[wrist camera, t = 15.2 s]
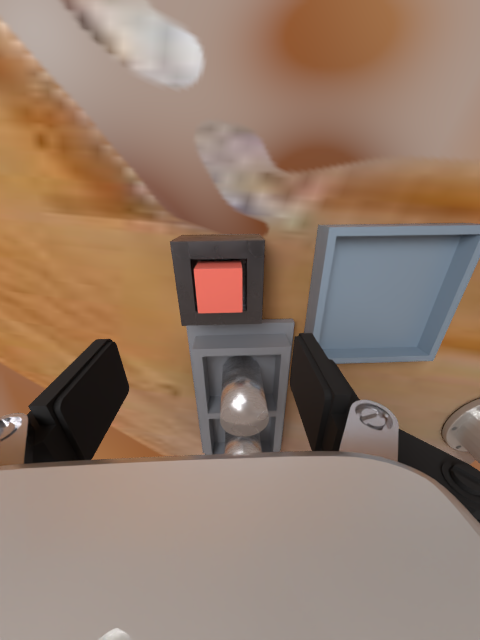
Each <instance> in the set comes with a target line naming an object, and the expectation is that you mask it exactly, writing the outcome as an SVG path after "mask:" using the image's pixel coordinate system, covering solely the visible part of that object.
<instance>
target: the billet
mask: <svg viewBox="0 0 480 640" xmlns="http://www.w3.org/2000/svg"><path fill="white" fill-rule="evenodd" d="M268 422H269V415H268V410H267V404H266V399H265V394H264V388H263V383H262V378H261V372H260V367H259V364H258V362H257V361H256V360H255V359H254V358H252V357H251V356H248V355H242V356H233V357H231V358H229V359H228V360H227V361H226V362H225V363H224V365H223V369H222V389H221V410H220V424H221V426H222V428H223V429H224V430H225V431H226V432H228V433H229V434H232V435H235V436H241V437H245V436H252V435H255V434H257V433H259V432H261V431H262V430H263V429H264V428H265V427H266V426H267V424H268Z"/></svg>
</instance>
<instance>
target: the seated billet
mask: <svg viewBox="0 0 480 640" xmlns="http://www.w3.org/2000/svg"><path fill="white" fill-rule="evenodd" d="M237 453H262V450H261V441H260V433H257V434H255V435H252V436H245V437H241V436H235V435H232V434H229V433H228V432H226V431H225V453H224V454H237Z"/></svg>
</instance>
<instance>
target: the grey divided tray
mask: <svg viewBox="0 0 480 640" xmlns="http://www.w3.org/2000/svg"><path fill="white" fill-rule="evenodd" d="M293 331H294V321H293V319H263V320H262V324H234V325H193V326H187V334H188V342H189V349H190V357H191V365H192V372H193V380H194V388H195V396H196V403H197V411H198V419H199V426H200V434H201V442H202V449H203V453H205V455H211V454H224V453H225V430H224V429H223V428H222V426H221V424H220V410H221V389H222V369H223V365H224V363H225V362H226V361H227V360H228V359H229V358H231V357H233V356H242V355H248V356H251V357H252V358H254V359H255V360H256V361H257V362H258V364H259V367H260V372H261V378H262V383H263V388H264V394H265V399H266V404H267V410H268V415H269V422H268V424H267V426H266V427H265V428H264V429H263V430H262V431H261V432H259V433H260V441H261V450H262V453H263V452H280V450H281V443H282V433H283V424H284V415H285V406H286V396H287V387H288V378H289V368H290V359H291V350H292V341H293Z"/></svg>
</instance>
